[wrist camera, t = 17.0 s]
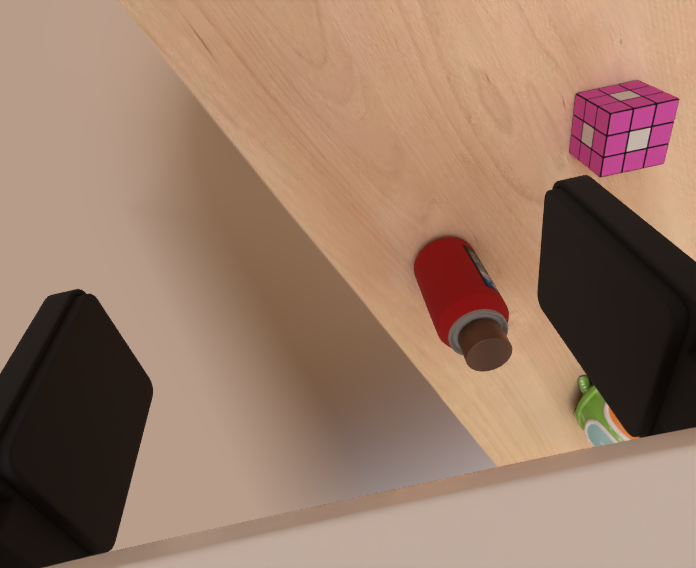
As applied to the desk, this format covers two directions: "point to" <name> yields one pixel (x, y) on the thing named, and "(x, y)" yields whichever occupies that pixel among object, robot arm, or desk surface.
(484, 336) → the dark brown cylinder
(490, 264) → the desk surface
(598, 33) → the desk surface
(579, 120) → the puzzle toy
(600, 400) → the turtle holder
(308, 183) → the desk surface
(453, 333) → the beverage can
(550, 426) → the desk surface
